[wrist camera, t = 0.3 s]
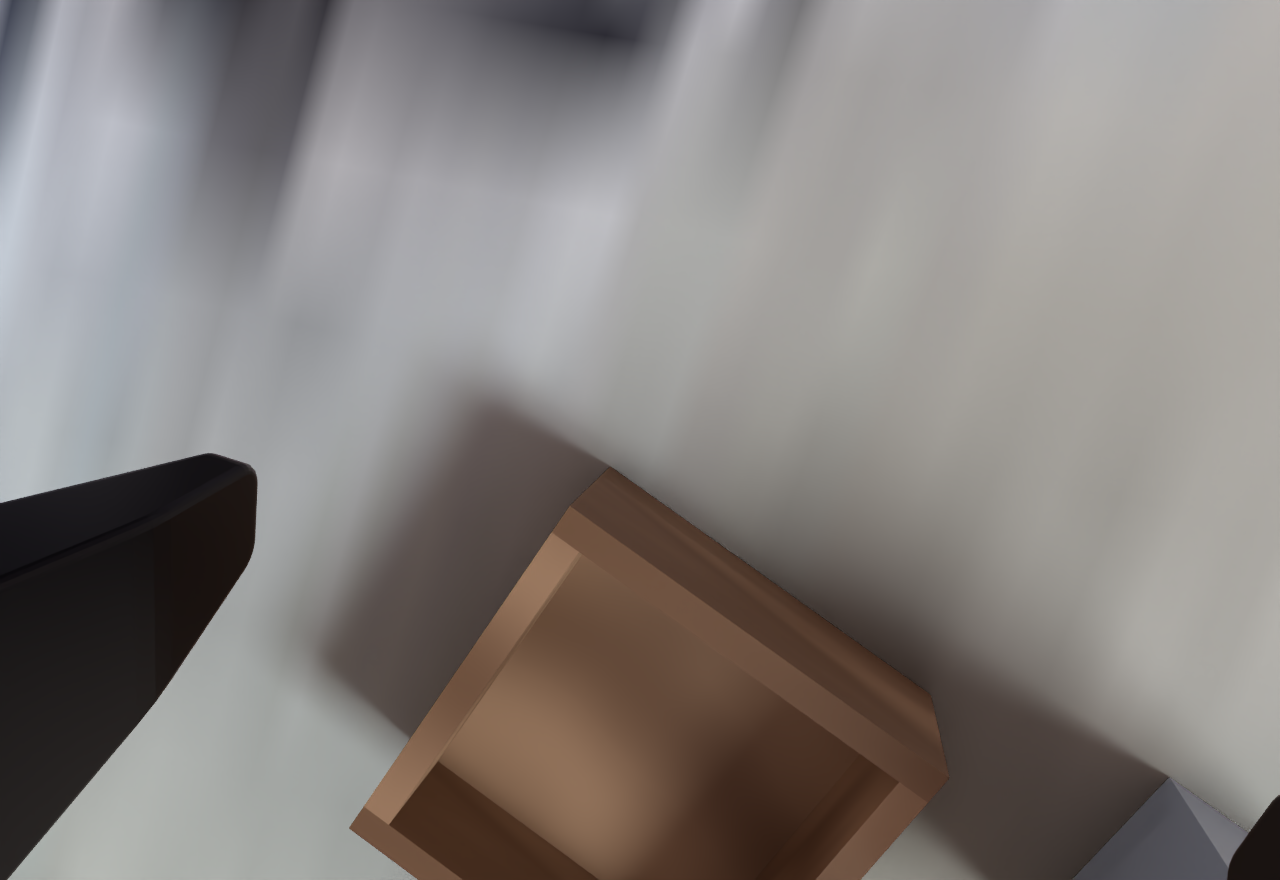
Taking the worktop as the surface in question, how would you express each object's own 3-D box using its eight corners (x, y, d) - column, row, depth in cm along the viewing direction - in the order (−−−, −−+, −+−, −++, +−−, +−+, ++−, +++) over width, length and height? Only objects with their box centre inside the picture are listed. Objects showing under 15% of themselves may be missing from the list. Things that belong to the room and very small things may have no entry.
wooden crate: (707, 959, 27) (686, 1078, 23) (417, 746, 27) (349, 828, 23) (930, 695, 24) (949, 778, 21) (609, 466, 25) (569, 505, 21)
